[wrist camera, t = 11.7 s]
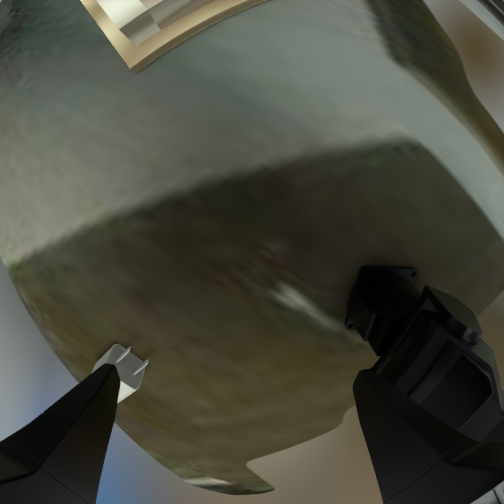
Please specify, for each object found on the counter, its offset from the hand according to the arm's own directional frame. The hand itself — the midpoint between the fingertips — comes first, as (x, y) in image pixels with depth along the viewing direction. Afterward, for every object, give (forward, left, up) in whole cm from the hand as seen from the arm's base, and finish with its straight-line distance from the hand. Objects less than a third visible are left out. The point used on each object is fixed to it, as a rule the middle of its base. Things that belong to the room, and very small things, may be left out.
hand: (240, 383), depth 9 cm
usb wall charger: (+10, +12, -13) cm, 21 cm away
